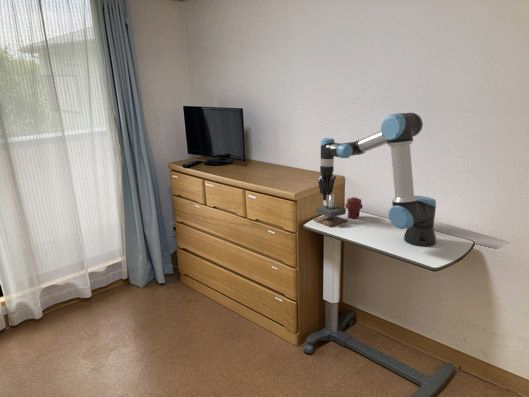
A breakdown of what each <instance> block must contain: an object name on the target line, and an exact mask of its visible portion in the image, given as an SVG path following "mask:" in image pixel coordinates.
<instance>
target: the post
mask: <svg viewBox="0 0 529 397" xmlns="http://www.w3.org/2000/svg"><path fill="white" fill-rule="evenodd" d="M334 205H335V194H334V193H331V194H329V203H328V209H329V210H333V209H334ZM328 220H333V217H331V218H330V217H328Z"/></svg>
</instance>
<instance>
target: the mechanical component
mask: <svg viewBox="0 0 529 397" xmlns="http://www.w3.org/2000/svg"><path fill="white" fill-rule="evenodd" d="M344 206H345V209H346V210H347V219H353V220H358V217H360V212H361V211H360V210H362V209H363V204H362V199H360V198H358V197H355V196H352V197H351V198H350V197H349V198H347V199H346V203H345V205H344Z"/></svg>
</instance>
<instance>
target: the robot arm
mask: <svg viewBox="0 0 529 397" xmlns="http://www.w3.org/2000/svg"><path fill="white" fill-rule="evenodd" d="M423 123H424V122H423V119H422V118H421V116H420V115H419V114H418V113H414V112H402V113H400V112H399V113H393V114H392V113H391V114H389V115H387V116H386V117H385V118H384V119H383V121H382V122H381V125H380V130H379V131H376V132H374V133H372V134H370V135H367V136H364V137H361V138H360V139H358V140H356V141H352V142H350V141H349V142H344V143H343V142H342V143H341V142H340V143H338V142H336V141H335V139H334V138H331V137H324V138H321V140H320V161H319V162H320V167H319V172H320V174H319V175H320V176H319V178H318V177H317V178H316V180H317V182H318V188H319V193H320V194H321V195H322V200H323V205H322V206H328V203H329V194H333V190H334V185H335V180H336V179H337V177H336V176H335V175H334V174H333V173H334V166H335V165H334V163H335V157H336V158H340V159H349V158H350V157H352V156H361V155H363V154H365V153H366V152H368V151H371V150H374V149H377V148H379V147H382V146H383V145H388V146H389V147H390V154H391V163H392V164H391V166H392V176H393V177H392V178H393V186H394V198H392V200H391V202H392V207H391V208H390V209H389V210H388V220H389V221H390V223H391V224H392V226H394V227H395V228H397V229H399V230H405V229H406V231H405V232H404V235H403V236H404V237H403V241H405V243H407V244H410V245H412V246H418V247H432V246H434V245H436V242H437V237H436V233H435V230H434V225H435V216H436V210H437V209H436V208H437V201H436V199H435V198H432V197H428V196H424V195H415V192H414V191H415V190H414V180H413V178H414V177H413V167H412V166H413V165H412V156H411V155H412V154H411V145H412V143H413V142H414V137H416V136H418V134H420V133H421V131H422V129H423V126H424V125H423Z"/></svg>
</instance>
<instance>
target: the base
mask: <svg viewBox="0 0 529 397" xmlns="http://www.w3.org/2000/svg"><path fill="white" fill-rule="evenodd" d="M313 222H315V223H318V224H321V225H323V226H326V227H329V228H333V227H336V226H341V225H344V224H347V223H348V222H349V220H348V219H347V218H343V217H341V216H335V217H333V220H328V217H327V216H324V215H322V216H318V217H314V218H313Z"/></svg>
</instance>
